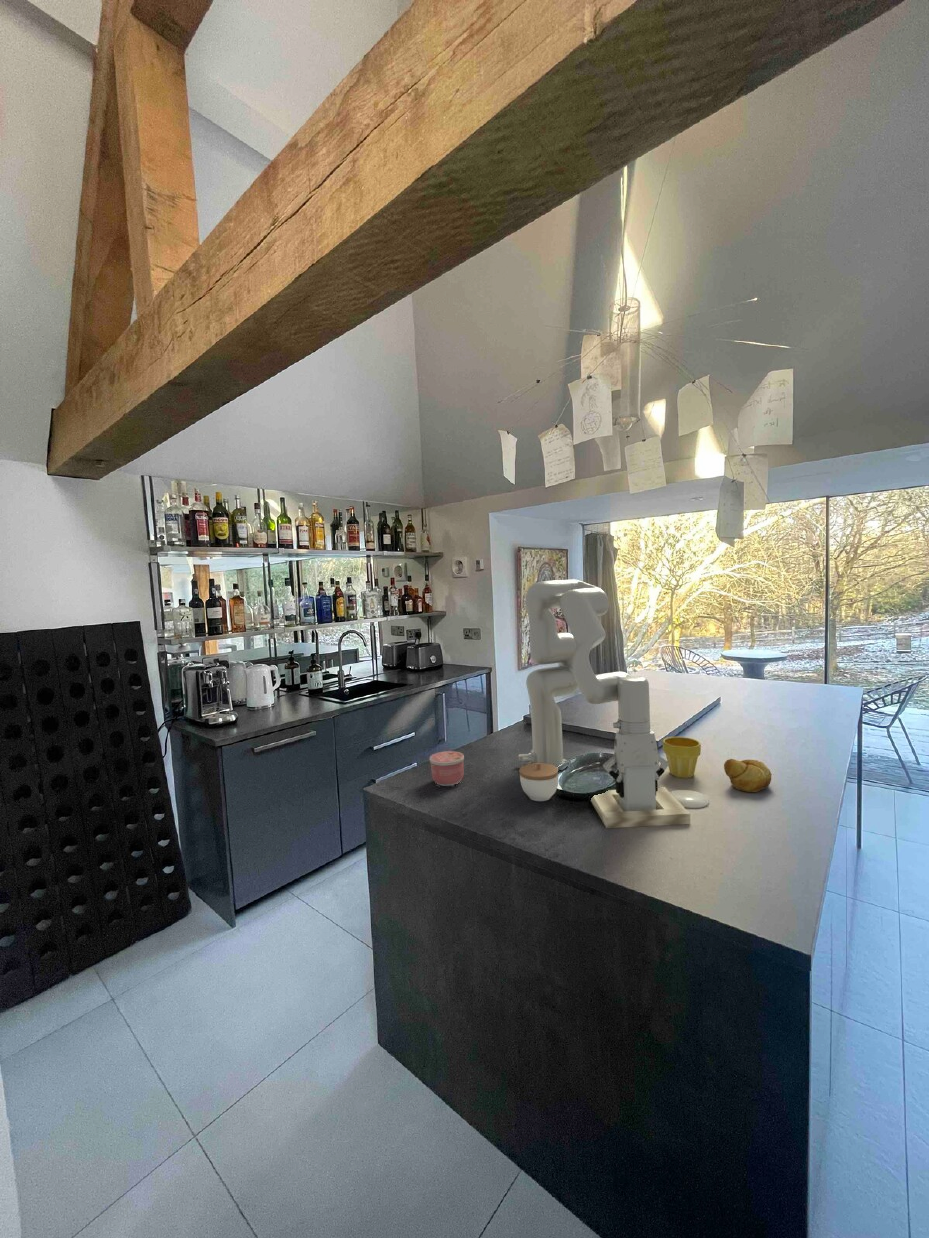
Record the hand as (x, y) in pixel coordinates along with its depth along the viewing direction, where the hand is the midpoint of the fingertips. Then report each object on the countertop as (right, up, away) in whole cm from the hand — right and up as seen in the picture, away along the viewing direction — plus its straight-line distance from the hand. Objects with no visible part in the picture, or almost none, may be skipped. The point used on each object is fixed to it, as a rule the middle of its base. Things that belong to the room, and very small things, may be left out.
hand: (636, 794), depth 130 cm
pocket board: (0, -4, 0) cm, 4 cm away
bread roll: (+36, -2, +12) cm, 37 cm away
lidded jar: (-23, -5, +12) cm, 26 cm away
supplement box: (0, -5, 0) cm, 5 cm away
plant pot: (+21, -2, +23) cm, 31 cm away
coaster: (+15, -3, +5) cm, 16 cm away
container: (-49, -6, +27) cm, 56 cm away
